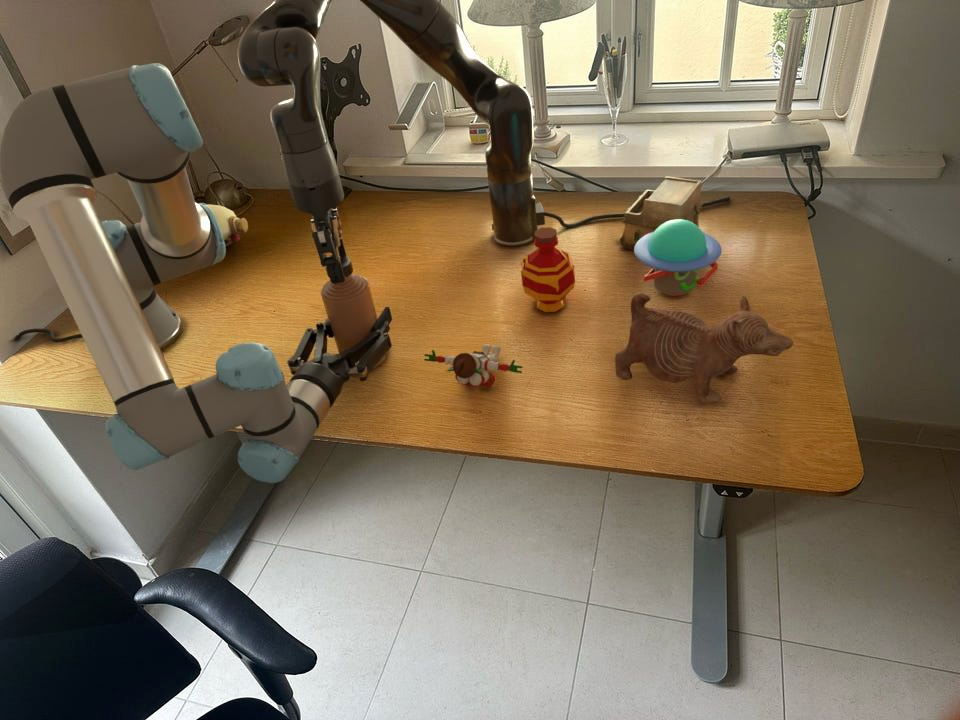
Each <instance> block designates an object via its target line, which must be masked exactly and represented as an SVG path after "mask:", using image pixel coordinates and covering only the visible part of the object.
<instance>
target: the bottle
mask: <svg viewBox="0 0 960 720" xmlns="http://www.w3.org/2000/svg"><path fill="white" fill-rule="evenodd" d="M320 296H321V299H322V302H323V306H324V308H325V312H326V316H327V318H328V319H329V322H330V326H331V329H332V332H333V336H334V337H333V338H334V339H333V340H334V342H335V345H336V349H337V352H338V354H339V353H341V352H342V351H343V350H345V349H346V350H349V349H350V348H352V347H353V346H354V345H356V344H357V343H359V342H360V341H361V340H363V339H364V338H366V337H367V336H368V335H370V334H371V333H372V329H371V328H372V327H373V325H374V324H375V322H376V321H377V319H378V315H377V311H376V307H375V303H374V299H373V295H372V290H371V287H370V283H369V281H368V279H367V278H366V277H364V276H363V275H361V274H356V273H352V274H351V275H349V276H348V277H346V278H345V281H344V282H342V283H336V284H333V283H331V281H330V279H329V280H328V281H326V282H325V283H324V284H323V286H322V287H321V289H320ZM386 357H387V353H386V354H385V355H384V356H383V357H382V358H381V359H380V361H379V362H378V363H377V364H376V365H375V366H374V367H373V369H375V368H377V367H378V366H380V365H382V363H383V362H385V359H386Z"/></svg>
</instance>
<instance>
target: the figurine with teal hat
mask: <svg viewBox="0 0 960 720" xmlns="http://www.w3.org/2000/svg"><path fill="white" fill-rule="evenodd" d="M722 250H723V249H722V246H721V244H720V243H719V241H718V240H717V239H716V238H715V237H713V236H712V235H710V234H708V233H705V232H703V230H702V229H701V228H700V226H699V227H698V226H697V225H696V224H694V223H692V222H690V221H688V220H682V219H675V220H670V221H667V222H665V223H664V224H662V225H660V226H659V227H658V228H657V229H656V230H655V231H654V232H651V233H649V234H647V235H645V236H643V237H642V238H641V239H640V240H638V242H637V243H636V245H635V247H634V250H633V252H634V256H635V257H636V258H637V259H638V261H640V262H641V263H642V264H644V265H645V266H647V267H650V268H651V269H650V270H649V271H648V272H647V273H646V274H645V275H644V276H643V282H644V283H645V282H648V281H651V280H653V287H654V289H656V291H658V292H659V293H662V294H666V295H668V296H671V297H678V296H682V295H685V294H689V293H691V292H693V291H694V290H695V289H696V287H697V286H699V287H703V286H704V285H705V283H706V282H708V280H709V279H710V278H711V277H712V276H713V275H714V274H715V272H717V270H718V266H719V264H718V262H717V260H718V259H719V258H720V257H721V255H722ZM707 267H711V268H710V270H709V271H707V272H706V274H705V275H704V276H703V277H700V278H699V277H698V273H699V272H701V271H703V269H704V268H707Z"/></svg>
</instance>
